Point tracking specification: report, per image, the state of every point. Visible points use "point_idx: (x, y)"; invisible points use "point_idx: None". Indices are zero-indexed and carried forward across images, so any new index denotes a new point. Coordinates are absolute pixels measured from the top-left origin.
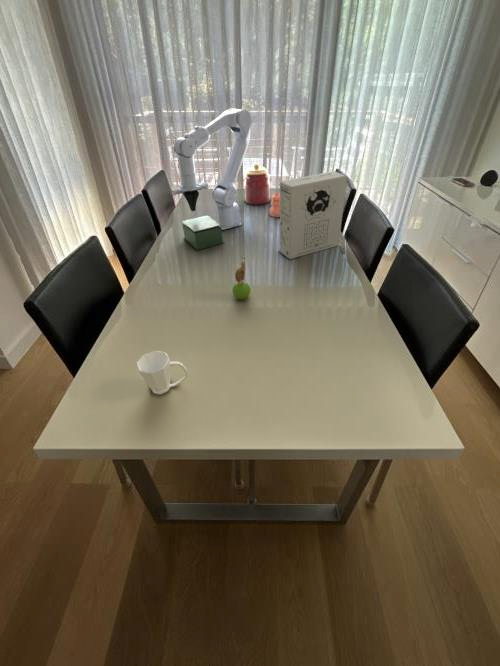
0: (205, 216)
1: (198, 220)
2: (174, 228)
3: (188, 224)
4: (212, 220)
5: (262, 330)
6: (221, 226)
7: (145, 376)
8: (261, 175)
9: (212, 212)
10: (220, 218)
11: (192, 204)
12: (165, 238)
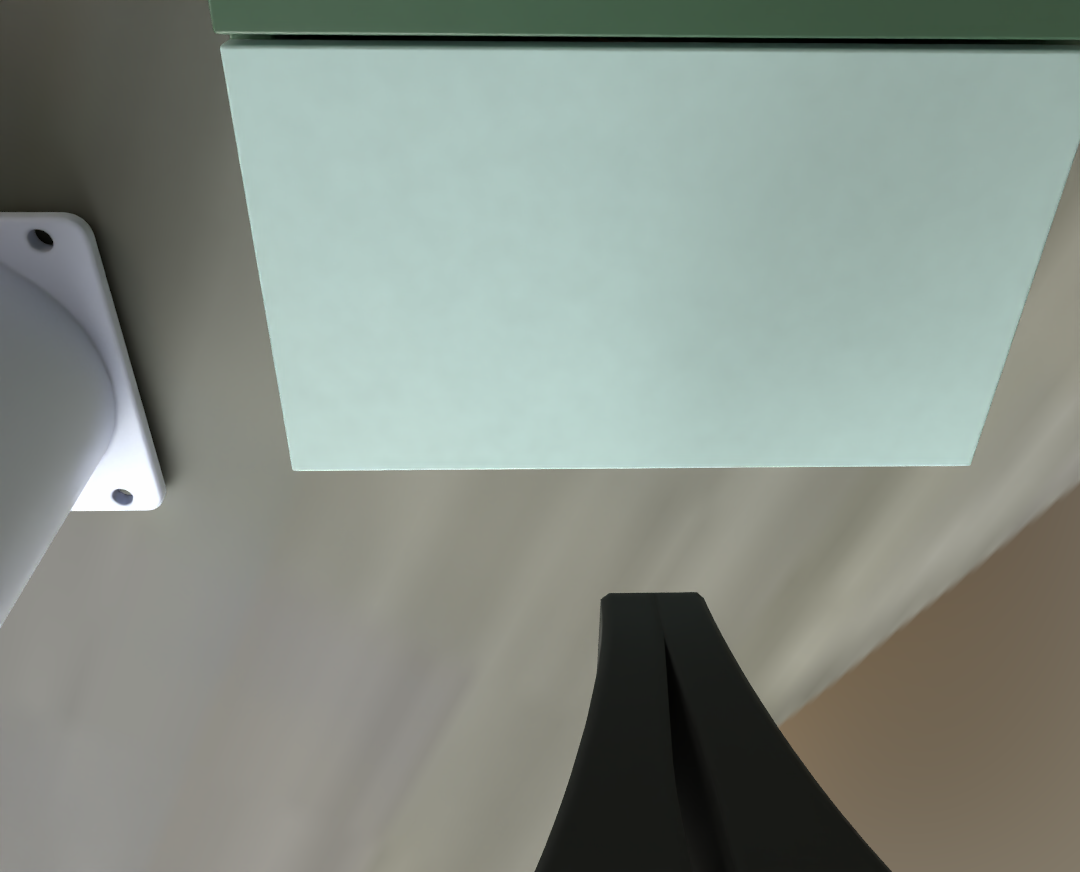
0: (358, 425)
1: (629, 291)
2: (745, 667)
3: (997, 189)
4: (270, 10)
5: None
6: (69, 321)
7: None
8: None
9: (96, 826)
10: (1, 414)
11: (729, 742)
12: (1047, 457)
